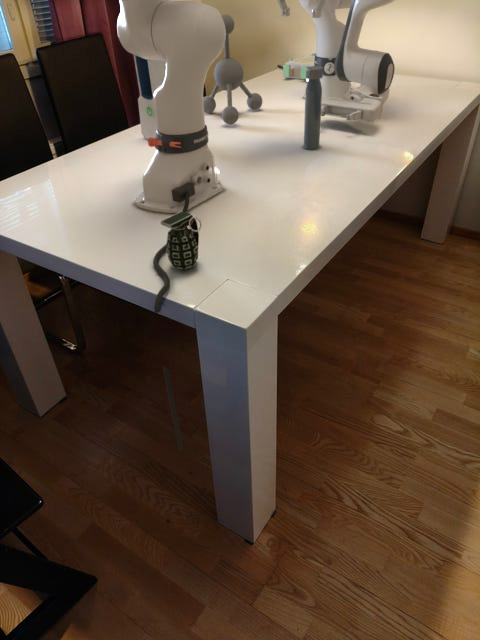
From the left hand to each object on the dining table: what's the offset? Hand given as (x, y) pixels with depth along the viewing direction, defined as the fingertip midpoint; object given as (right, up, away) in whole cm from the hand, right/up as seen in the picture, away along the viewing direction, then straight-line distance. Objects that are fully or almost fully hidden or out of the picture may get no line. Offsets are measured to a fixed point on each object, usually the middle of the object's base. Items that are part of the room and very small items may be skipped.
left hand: (300, 16), depth 121 cm
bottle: (+5, -26, +19) cm, 32 cm away
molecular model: (-16, -4, +48) cm, 51 cm away
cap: (+4, -10, +6) cm, 12 cm away
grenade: (-25, -66, -30) cm, 76 cm away
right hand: (+13, -15, +22) cm, 30 cm away
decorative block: (+15, +32, +92) cm, 99 cm away
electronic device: (-39, -19, +32) cm, 54 cm away
